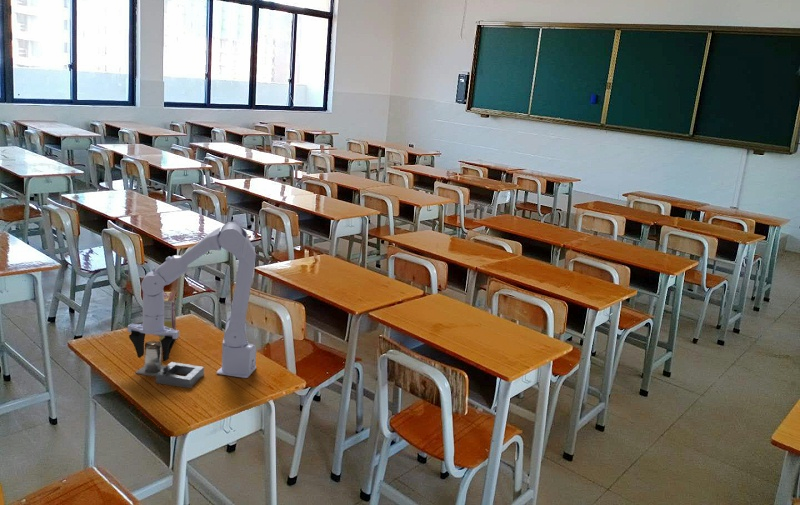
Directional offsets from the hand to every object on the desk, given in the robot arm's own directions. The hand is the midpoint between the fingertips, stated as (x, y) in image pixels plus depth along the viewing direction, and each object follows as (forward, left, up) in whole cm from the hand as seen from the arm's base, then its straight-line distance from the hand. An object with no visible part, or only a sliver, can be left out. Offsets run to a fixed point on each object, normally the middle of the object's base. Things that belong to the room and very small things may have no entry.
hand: (153, 358), depth 188 cm
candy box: (+7, -22, -4) cm, 23 cm away
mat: (0, 0, -4) cm, 4 cm away
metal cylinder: (0, 0, -3) cm, 4 cm away
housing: (-9, +2, -4) cm, 11 cm away
